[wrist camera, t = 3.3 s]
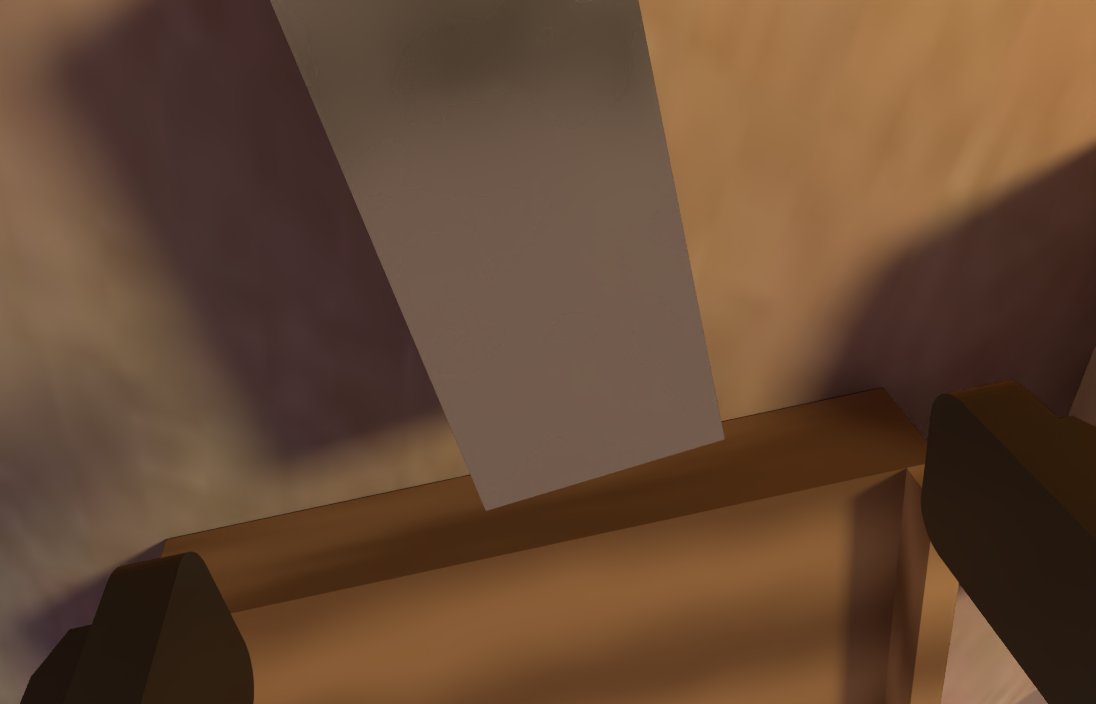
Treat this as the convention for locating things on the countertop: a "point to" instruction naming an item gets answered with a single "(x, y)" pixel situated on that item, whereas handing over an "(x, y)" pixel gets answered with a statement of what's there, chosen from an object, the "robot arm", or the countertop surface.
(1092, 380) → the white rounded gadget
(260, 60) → the countertop surface
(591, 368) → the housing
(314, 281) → the countertop surface
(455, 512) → the stand
